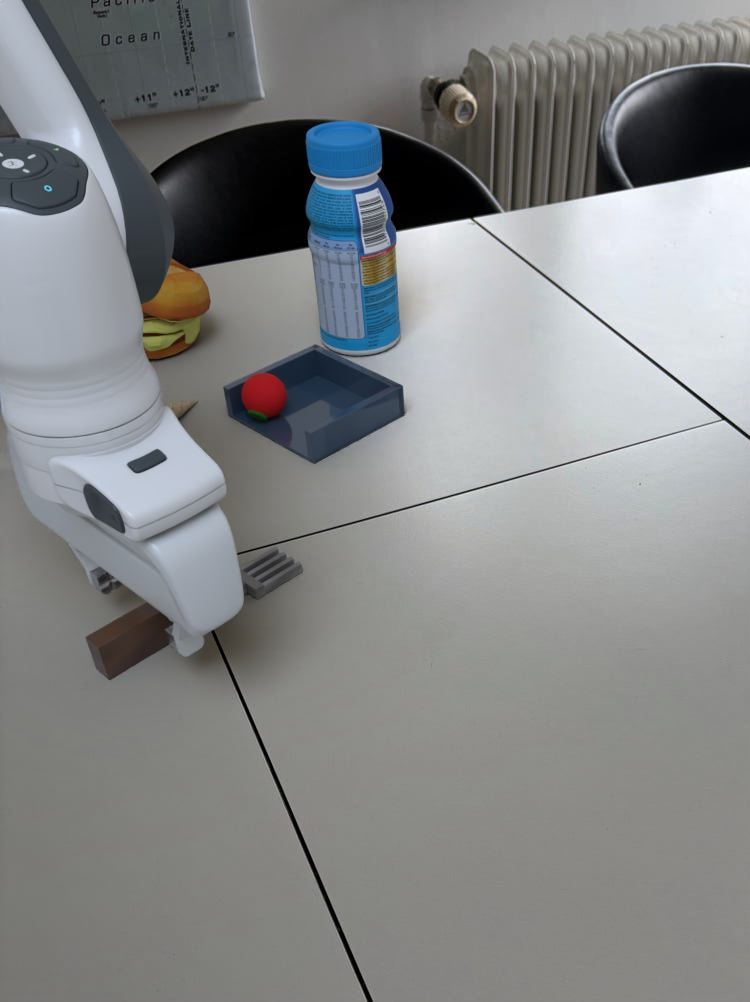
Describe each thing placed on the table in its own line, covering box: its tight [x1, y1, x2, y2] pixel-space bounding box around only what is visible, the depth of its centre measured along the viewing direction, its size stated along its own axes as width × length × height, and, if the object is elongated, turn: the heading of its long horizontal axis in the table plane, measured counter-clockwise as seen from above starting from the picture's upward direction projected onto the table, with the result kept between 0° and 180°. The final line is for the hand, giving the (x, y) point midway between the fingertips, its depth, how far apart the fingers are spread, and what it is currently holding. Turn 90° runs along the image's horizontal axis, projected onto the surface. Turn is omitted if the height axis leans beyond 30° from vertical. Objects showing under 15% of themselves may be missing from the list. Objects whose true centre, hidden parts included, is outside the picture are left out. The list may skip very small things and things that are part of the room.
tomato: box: [242, 373, 287, 421], centre depth 94 cm, size 4×4×4 cm
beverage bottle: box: [305, 120, 402, 357], centre depth 100 cm, size 8×8×20 cm
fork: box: [84, 546, 303, 681], centre depth 74 cm, size 16×3×3 cm, turn 137°
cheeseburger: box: [141, 257, 212, 360], centre depth 104 cm, size 10×11×10 cm
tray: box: [222, 343, 406, 465], centre depth 95 cm, size 12×11×3 cm
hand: (146, 616), depth 71 cm, fingers open, 8 cm apart
